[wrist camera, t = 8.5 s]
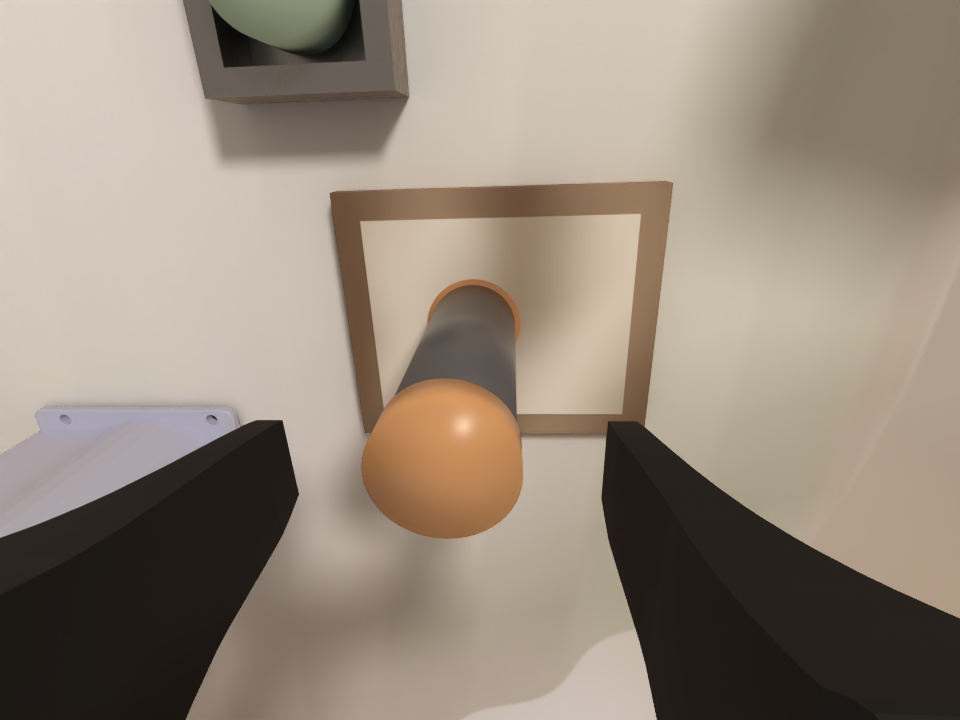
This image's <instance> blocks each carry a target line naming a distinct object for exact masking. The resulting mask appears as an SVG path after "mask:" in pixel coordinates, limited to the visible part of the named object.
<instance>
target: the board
mask: <svg viewBox="0 0 960 720" xmlns="http://www.w3.org/2000/svg"><path fill="white" fill-rule="evenodd" d="M672 188H673V183H672V182H667V181H659V182H626V183H593V184H560V185H527V186H494V187H461V188H428V189H395V190H362V191H336V192H332V193H330V199H331V205H332V212H333V219H334V226H335V233H336V239H337V246H338V253H339V260H340V266H341V273H342V280H343V287H344V294H345V300H346V307H347V314H348V321H349V327H350V334H351V341H352V348H353V355H354V361H355V368H356V375H357V382H358V388H359V395H360V402H361V409H362V416H363V422H364V429H365V433H372V431H373V429H374V427H375V425H376V423H377V421H378V419H379V417H380V415H381V413H382V411H383V410H384V408H385V406H386V405H387V404H388V403H389V401H390V400H391V399H392V398H393V397H394V396H395V394H396V392H397V389H398V387H399V385H400V383H401V381H402V379H403V377H404V375H405V372H406V370H407V368H408V366H409V364H410V362H411V360H412V358H413V355H414V353H415V351H416V349H417V347H418V345H419V343H420V341H421V338H422V336H423V334H424V332H425V330H426V328H427V326H428V324H429V321H430V319H431V317H432V315H433V313H434V311H435V309H436V307H437V305H438V303H439V302H440V300H441V299H442V298H443V297H444V296H445V295H446V294H447V293H449V292H450V291H452V290H454V289H456V288H458V287H461V286H466V285H479V286H484V287H487V288H490V289H492V290H494V291H496V292H497V293H499V294H500V295H501V296H502V297H503V298H504V299H505V300H506V301H507V303H508V304H509V306H510V307H511V309H512V312H513V315H514V319H515V352H516V402H517V424H518V426H519V430H520V433H566V434H607V426H608V421H637V422H639V423H640V424H641V425H642V426H644V427H645V418H646V410H647V401H648V392H649V384H650V375H651V367H652V358H653V350H654V341H655V333H656V324H657V316H658V307H659V299H660V290H661V282H662V273H663V265H664V256H665V248H666V239H667V230H668V222H669V213H670V205H671V196H672Z"/></svg>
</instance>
